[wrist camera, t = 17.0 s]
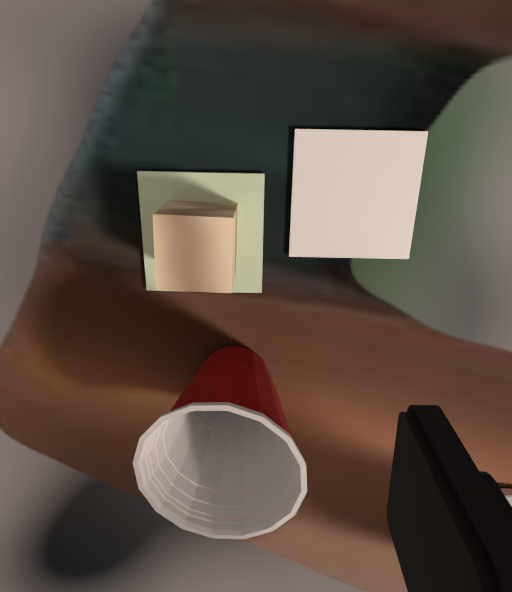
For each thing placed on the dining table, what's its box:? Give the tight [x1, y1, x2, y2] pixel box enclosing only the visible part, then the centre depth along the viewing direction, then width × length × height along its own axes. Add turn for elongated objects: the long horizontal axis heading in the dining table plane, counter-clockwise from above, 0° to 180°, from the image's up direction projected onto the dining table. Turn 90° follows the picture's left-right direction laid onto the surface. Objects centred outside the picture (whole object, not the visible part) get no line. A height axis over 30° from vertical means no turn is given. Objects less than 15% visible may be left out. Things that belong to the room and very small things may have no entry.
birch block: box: [153, 200, 238, 293], centre depth 31 cm, size 5×5×5 cm
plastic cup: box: [133, 346, 307, 539], centre depth 32 cm, size 11×11×12 cm
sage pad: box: [137, 171, 264, 293], centre depth 33 cm, size 9×9×1 cm
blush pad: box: [289, 129, 428, 259], centre depth 32 cm, size 9×9×1 cm
